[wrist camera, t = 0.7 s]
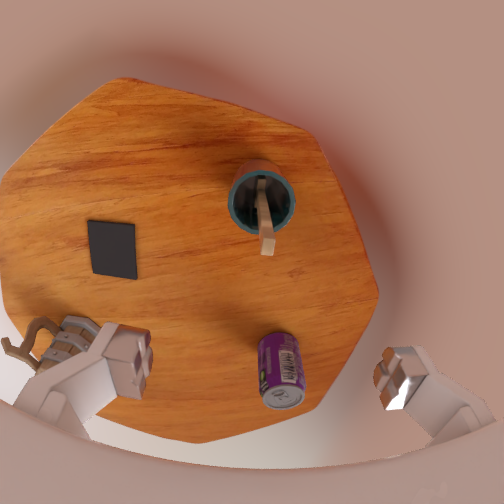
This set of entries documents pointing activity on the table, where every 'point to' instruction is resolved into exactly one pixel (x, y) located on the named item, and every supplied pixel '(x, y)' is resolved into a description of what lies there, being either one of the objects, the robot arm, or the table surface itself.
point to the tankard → (55, 341)
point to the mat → (113, 249)
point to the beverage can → (280, 371)
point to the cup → (275, 190)
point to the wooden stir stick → (264, 217)
